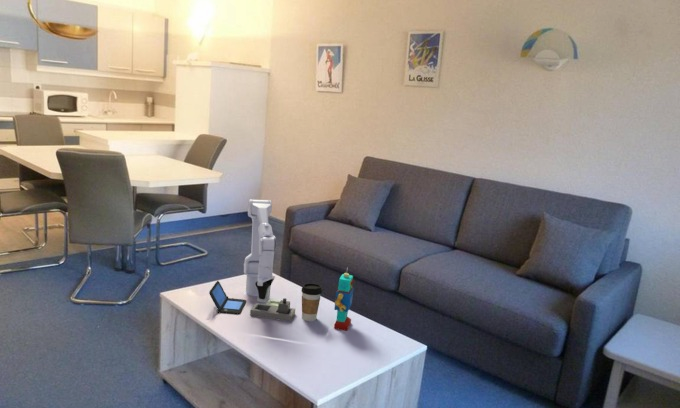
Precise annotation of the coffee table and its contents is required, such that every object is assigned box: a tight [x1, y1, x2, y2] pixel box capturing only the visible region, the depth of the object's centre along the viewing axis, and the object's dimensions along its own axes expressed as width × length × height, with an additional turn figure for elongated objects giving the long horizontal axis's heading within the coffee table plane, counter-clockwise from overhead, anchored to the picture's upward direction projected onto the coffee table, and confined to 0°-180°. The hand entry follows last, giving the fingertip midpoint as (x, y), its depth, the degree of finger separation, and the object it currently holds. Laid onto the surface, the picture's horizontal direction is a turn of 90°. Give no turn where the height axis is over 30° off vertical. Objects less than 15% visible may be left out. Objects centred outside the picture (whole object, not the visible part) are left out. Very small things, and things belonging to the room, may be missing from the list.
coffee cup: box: [301, 282, 323, 322], centre depth 216 cm, size 8×8×15 cm
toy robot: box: [333, 267, 354, 332], centre depth 212 cm, size 12×6×25 cm, turn 168°
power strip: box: [249, 302, 296, 322], centre depth 217 cm, size 8×17×3 cm, turn 82°
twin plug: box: [278, 297, 291, 314], centre depth 216 cm, size 4×4×8 cm
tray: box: [266, 299, 280, 306], centre depth 226 cm, size 8×8×1 cm
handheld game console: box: [209, 280, 247, 315], centre depth 221 cm, size 16×13×9 cm
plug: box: [257, 282, 272, 304], centre depth 216 cm, size 4×4×8 cm
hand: (263, 296), depth 216 cm, fingers closed on plug, 4 cm apart
